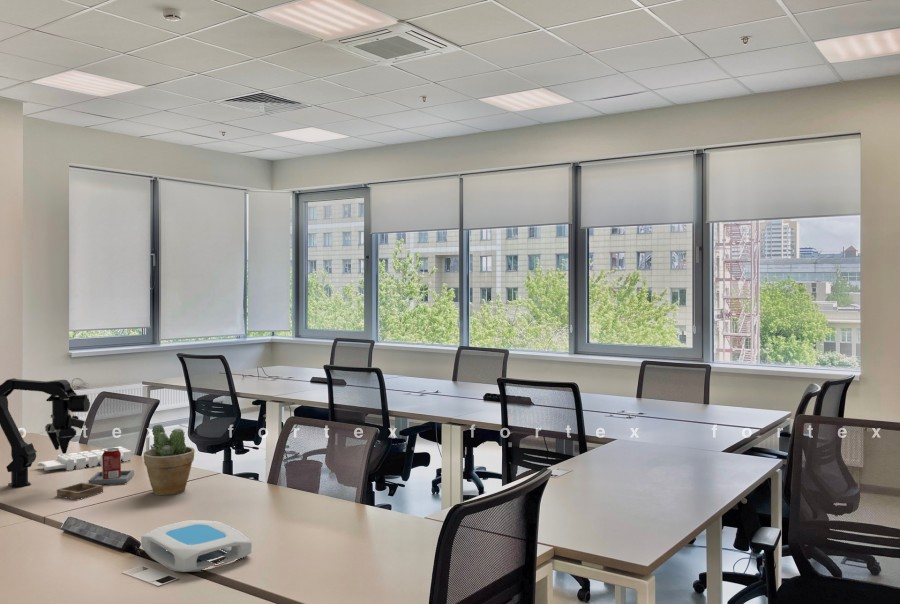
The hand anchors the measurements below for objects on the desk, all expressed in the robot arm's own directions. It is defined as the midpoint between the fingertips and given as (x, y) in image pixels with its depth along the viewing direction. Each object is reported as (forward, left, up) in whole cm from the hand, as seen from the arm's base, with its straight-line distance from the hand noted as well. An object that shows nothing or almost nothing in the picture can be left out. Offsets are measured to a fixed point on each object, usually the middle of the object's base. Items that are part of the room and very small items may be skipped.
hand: (60, 451), depth 289 cm
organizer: (-28, +18, -14) cm, 36 cm away
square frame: (+20, +1, -13) cm, 24 cm away
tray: (+7, +17, -13) cm, 22 cm away
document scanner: (+109, +5, -14) cm, 110 cm away
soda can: (+7, +17, -13) cm, 22 cm away
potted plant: (+39, +27, -13) cm, 49 cm away
